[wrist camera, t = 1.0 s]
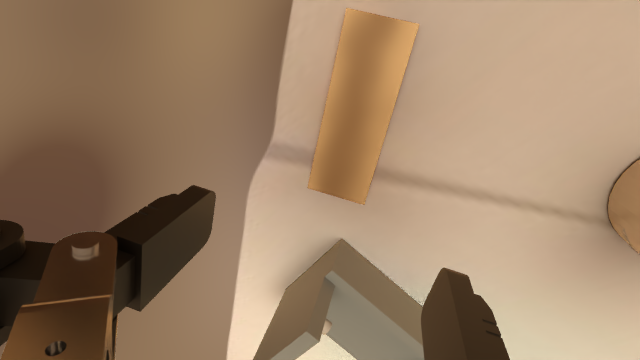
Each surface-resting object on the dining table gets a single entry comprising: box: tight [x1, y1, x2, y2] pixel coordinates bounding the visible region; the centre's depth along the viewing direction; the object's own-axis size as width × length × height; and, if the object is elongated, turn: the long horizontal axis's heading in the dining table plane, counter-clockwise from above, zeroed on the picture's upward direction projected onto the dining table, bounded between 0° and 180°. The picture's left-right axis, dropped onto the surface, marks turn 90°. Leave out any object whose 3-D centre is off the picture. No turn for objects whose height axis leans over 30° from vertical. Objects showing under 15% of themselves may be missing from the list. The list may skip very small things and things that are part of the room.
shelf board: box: [308, 8, 419, 205], centre depth 27 cm, size 5×14×3 cm, turn 168°
